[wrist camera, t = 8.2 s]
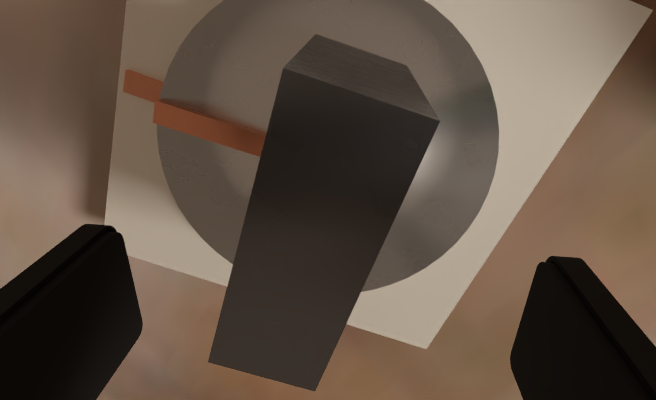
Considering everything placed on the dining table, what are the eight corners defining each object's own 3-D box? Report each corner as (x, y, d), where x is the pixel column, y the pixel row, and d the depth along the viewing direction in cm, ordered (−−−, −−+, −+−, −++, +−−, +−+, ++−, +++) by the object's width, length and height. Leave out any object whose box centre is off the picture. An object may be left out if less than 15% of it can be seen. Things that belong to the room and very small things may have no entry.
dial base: (420, 319, 22) (426, 352, 20) (124, 224, 20) (99, 249, 18) (617, 7, 14) (657, 10, 12) (175, -179, 13) (142, -209, 11)
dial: (559, 44, 13) (737, 95, 7) (411, 309, 19) (436, 470, 12) (194, -89, 12) (21, -167, 6) (152, 232, 18) (40, 365, 11)
